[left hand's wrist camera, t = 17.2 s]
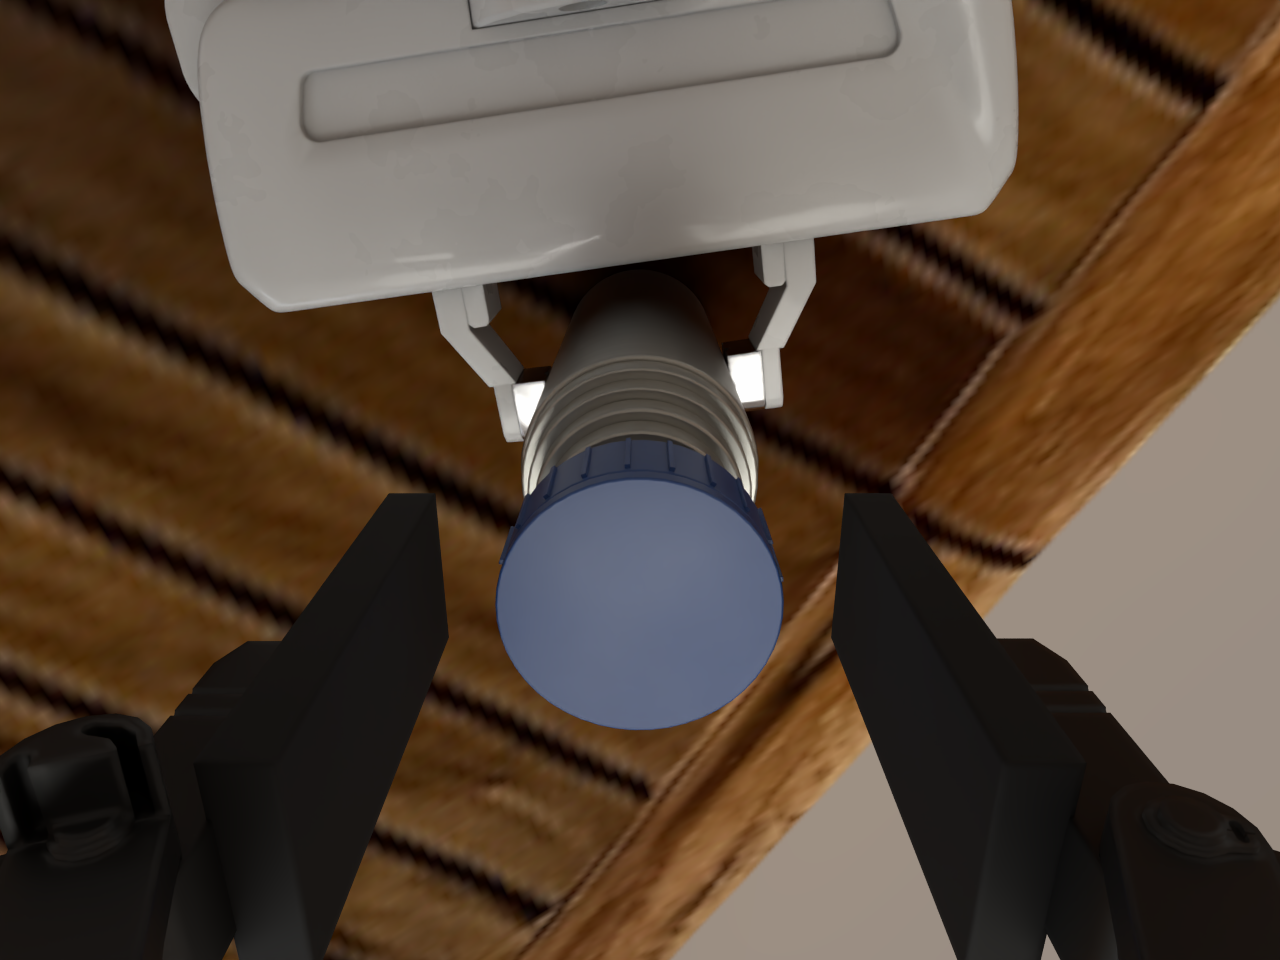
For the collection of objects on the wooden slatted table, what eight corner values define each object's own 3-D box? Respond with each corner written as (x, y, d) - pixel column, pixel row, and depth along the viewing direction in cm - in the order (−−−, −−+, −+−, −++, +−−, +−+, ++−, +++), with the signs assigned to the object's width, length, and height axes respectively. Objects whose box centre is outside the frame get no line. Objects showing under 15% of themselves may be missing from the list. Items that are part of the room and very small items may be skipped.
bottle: (579, 257, 30) (492, 413, 12) (723, 281, 30) (839, 468, 13) (560, 398, 32) (461, 708, 14) (696, 420, 32) (764, 749, 15)
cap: (608, 712, 16) (604, 777, 14) (453, 529, 14) (430, 578, 13) (819, 590, 15) (840, 645, 13) (674, 383, 13) (679, 415, 12)
